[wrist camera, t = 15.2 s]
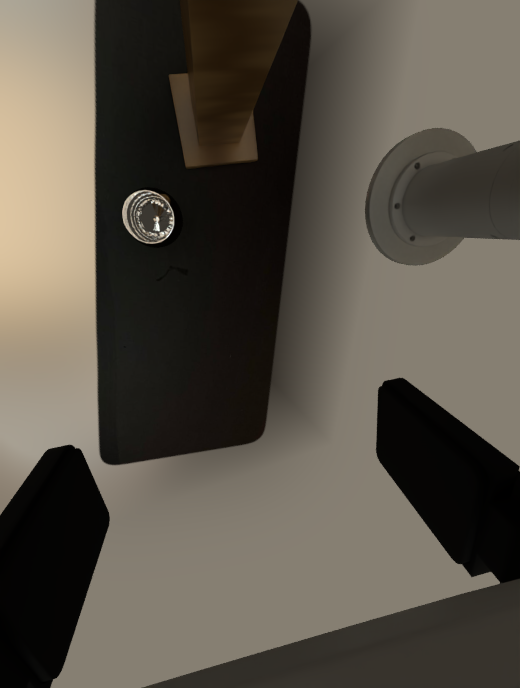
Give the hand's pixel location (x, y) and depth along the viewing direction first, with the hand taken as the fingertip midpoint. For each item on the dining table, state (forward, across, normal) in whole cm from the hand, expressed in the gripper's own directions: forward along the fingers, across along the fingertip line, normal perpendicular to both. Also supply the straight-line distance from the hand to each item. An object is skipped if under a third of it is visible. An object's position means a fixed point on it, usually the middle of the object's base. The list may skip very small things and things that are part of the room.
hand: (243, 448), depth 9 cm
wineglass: (+36, +5, -8) cm, 38 cm away
